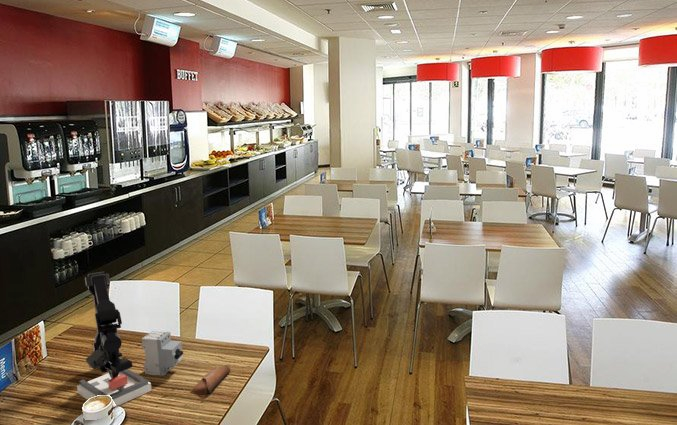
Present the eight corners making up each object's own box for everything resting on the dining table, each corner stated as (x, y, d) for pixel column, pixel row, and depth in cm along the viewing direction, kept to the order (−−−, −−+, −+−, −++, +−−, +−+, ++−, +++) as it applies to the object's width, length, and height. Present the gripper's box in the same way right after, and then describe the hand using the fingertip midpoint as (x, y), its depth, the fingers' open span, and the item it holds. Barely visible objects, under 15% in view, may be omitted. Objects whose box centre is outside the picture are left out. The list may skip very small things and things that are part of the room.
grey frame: (79, 384, 202) (79, 381, 201) (120, 368, 214) (120, 364, 213) (106, 402, 189) (106, 398, 189) (148, 384, 201) (148, 380, 201)
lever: (109, 394, 198) (107, 380, 197) (124, 387, 203) (123, 374, 202) (112, 396, 197) (111, 382, 196) (128, 389, 201) (126, 376, 200)
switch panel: (78, 393, 201) (77, 385, 201) (123, 374, 215) (122, 367, 214) (104, 411, 189) (103, 403, 188) (151, 390, 202) (150, 382, 202)
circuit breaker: (178, 376, 212) (175, 340, 209) (144, 374, 215) (141, 338, 212) (187, 367, 219) (184, 332, 216) (154, 365, 222) (151, 330, 219)
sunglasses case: (210, 370, 217) (217, 357, 215) (225, 379, 216) (232, 367, 214) (188, 393, 199) (195, 379, 198) (204, 404, 199) (211, 390, 197)
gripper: (75, 342, 197) (80, 381, 200) (100, 356, 185) (105, 398, 188) (105, 332, 206) (109, 370, 209) (131, 345, 194) (135, 385, 197)
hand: (114, 381), depth 200 cm, fingers closed
